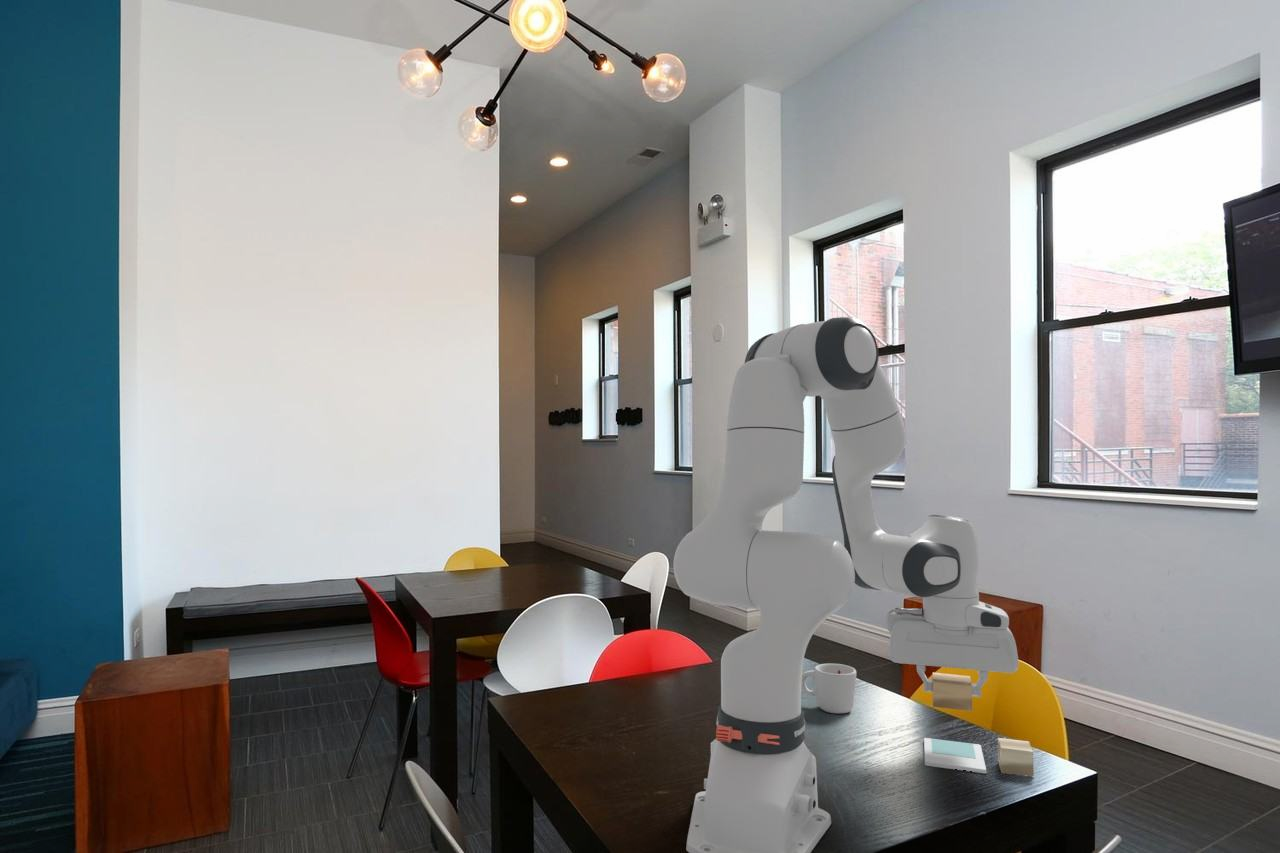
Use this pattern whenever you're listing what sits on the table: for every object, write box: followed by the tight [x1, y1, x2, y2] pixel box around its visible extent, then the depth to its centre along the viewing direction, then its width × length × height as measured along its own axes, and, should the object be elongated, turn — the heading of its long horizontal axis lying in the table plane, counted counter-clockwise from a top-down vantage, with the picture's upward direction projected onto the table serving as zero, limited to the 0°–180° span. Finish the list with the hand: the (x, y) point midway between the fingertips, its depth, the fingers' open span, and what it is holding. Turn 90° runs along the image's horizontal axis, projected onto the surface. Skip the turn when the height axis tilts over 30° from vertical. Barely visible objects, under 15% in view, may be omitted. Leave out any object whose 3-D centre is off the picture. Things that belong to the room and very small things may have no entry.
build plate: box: [923, 737, 987, 774], centre depth 123 cm, size 11×9×1 cm
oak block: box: [932, 672, 973, 712], centre depth 126 cm, size 6×6×4 cm
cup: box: [801, 663, 857, 715], centre depth 147 cm, size 11×8×8 cm
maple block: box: [997, 737, 1035, 777], centre depth 119 cm, size 4×4×4 cm
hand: (951, 693), depth 126 cm, fingers closed on oak block, 6 cm apart
